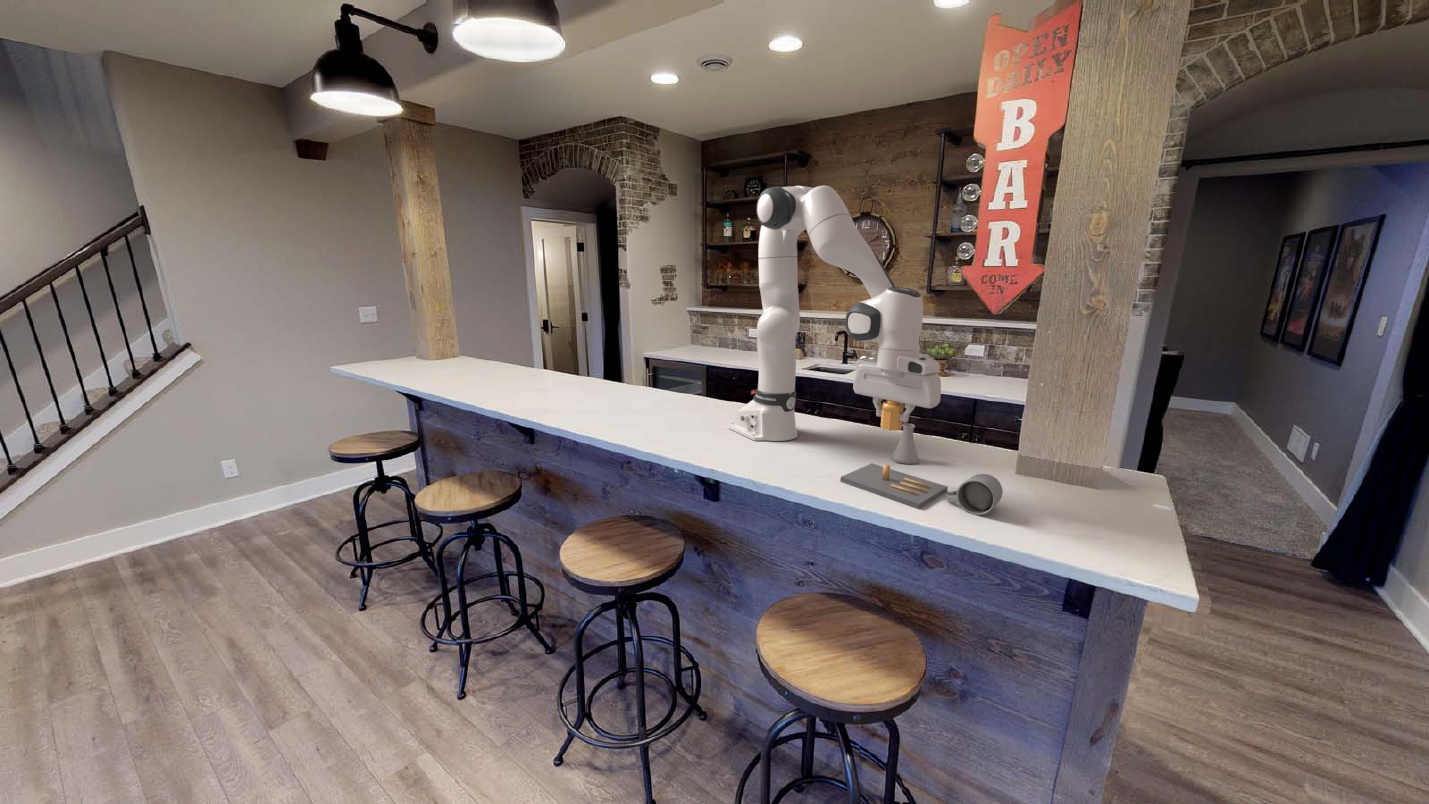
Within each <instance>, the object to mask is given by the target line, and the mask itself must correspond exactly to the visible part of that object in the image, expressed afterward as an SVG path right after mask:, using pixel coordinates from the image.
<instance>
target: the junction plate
mask: <svg viewBox="0 0 1429 804" xmlns="http://www.w3.org/2000/svg"><path fill="white" fill-rule="evenodd" d="M840 483H843V484H846V485H848V486H849V485H850V486H851V487H854V488H858V489H860V490H863V491H867V492H869V493H871V494H875V495H878V496H880V497H883V498H886V499H889V500H892V501H895V502H898V503H900V504H902V505H903V504H904V505H906V506H909V507H912V508H915V509H916V510H918V509H921V508H923V507H924V506H926V505H928V504H929V503H931V502H933V501H934V500H936V499H937V498H939V497H940V496H943V495H944V494H945V493H946V494H947V493H948V488H949V487H948V486H947V485H943V484H942V483H941V484H940V483H937V482H933V481H931V480H927V479H924V478H921V477H917V476H915V475H911V474H908V473H905V472H901V471H899V470H894V469H891V465H890V464H886V463H885V464H883V466H882V465H880V464H879V465H878V464H875V463H873V462H872V463H869V464H866V465H865V466H862V467H860V468H858V469H856V470H854V471H851V472H849V473H847V474H844V475H841V476H840Z"/></svg>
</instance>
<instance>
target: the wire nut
mask: <svg viewBox="0 0 1429 804" xmlns="http://www.w3.org/2000/svg"><path fill="white" fill-rule="evenodd" d="M904 408H905V403H900V402H895V401H890V400H885V401H882V416H881V417H880V427H881V428H882V429H883V430H888V431H899V430H903V422H900V421H899V414H902V413H904Z"/></svg>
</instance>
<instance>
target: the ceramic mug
mask: <svg viewBox="0 0 1429 804" xmlns="http://www.w3.org/2000/svg"><path fill="white" fill-rule="evenodd" d="M1003 493H1004V492H1003V486H1002V484H1001V483H1000V481H999V480H998V478H996V477H994V476H993V475H991V474H987V473H979V474H975V475H973V476H971V477H970V478H968V479H966V480H964V481H963V482H962V483H961V484H960V485H959V486H958V488H957V489H956V490H953V491H950V492H947V493H946V494H945V497H946V501H947V502H948V503H958V505H959V506H960V507H961V509H963V510H964V511H965V512H967V513H968V514H972V515H974V516H983V515H986V514H989V513H990V512H991V511H993V509H994V508H995V507H996V505H997V504H998V503H999V502H1000V500H1001V499H1002V497H1003Z"/></svg>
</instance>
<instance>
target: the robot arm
mask: <svg viewBox="0 0 1429 804" xmlns="http://www.w3.org/2000/svg"><path fill="white" fill-rule="evenodd" d="M755 209H756V210H755V211H756V215H757V216H756V217H757V219H758V221H759V223H760V225H761V226H760V230H759V236H758V237H759V238H758V283H759V284H758V287H759V291H760V297H761V298H760V300H761V305H762V314H761V316H760V317H759V319H758V320H757V321H758V322H757V324H756V334H757V335H756V336H757V340H756V341H757V354H758V355H757V356H758V383H757V387H756V389H752V390H751V393H750V394H751V395H753V394H754V395H753V397H752V398H753V399H752V400H750V401H749V402H748V403H746V404H744V405H743V406H742V407H740V408H739V410H738V411H737V414H736V418H735V419H736V420H735V421H734V422H731V423H729V425H728V429H729V430H731V431H733V432H735V433H737V434H739V435H742V436H744V437H746V438H748V439H751V440H752V441H756V442H757V441H759V442H761V441H771V442H781V441H782V442H784V441H791V440H794V439H796V438H797V437H798V436H799V435H798V431H797V425H796V416H795V415H796V413H795V407H796V401H797V391H796V376H797V375H796V371H797V359H796V358H797V357H796V356H797V355H796V346H797V345H796V342H797V341H796V339H797V338H796V337H797V335H798V333H799V331H800V326H801V317H800V315H801V314H800V299H799V298H800V297H799V288H798V287H799V285H798V284H799V283H798V282H799V281H798V238H799V236H800V234H801V233H803V232H804V234H807V235H808V237H809V241H810V243H811V246H812V248H813V250H814V252H815V253H816V254H817V255H818V257H819V258H820V259H821V260H822V261H823V262H825V263H826V264H828V265H831V266H834V267H837V268H840V269H843V270H846V271H847V272H850V273H851V274H853V275H855V276H856V277H857V278H858V279H859V280H860V281H861V282H862V284H863V285H864V288H865V290H866V291H867V292H868V294H869V296H870V298H869V299H866V300H862V301H858V302H855V303H853V304H852V305H851V306H850V307H849V308H848V310H847V312H846V314H845V320H844V323H845V324H844V325H845V329H846V332H847V334H848V335H849V336H850V338H851V339H853V340H855V341H858V342H861V343H862V342H863V343H867V342H869V343H870V342H877V343H878V348H877V356H876V357H875V356H868V355H863V356H862V357H859V358H858V359H857V360H856V364H855V366H856V367H855V368H856V369H855V374H854V380H853V386H852V389H853V391H854V393H855V394H858V395H862V396H866V397H872V403H873V405H874V408H875V409H876V412H875V415H876V417H879V418H881V416H882V407H883V403H882V402H884V401H883V400H885V401H887V400H890V401H895V402H900V403H903V404H904V409H905V411H903V413H902V414H899V421H900V422H902V423H903V424H906V423H908V422H909V420H910V419H909V418H910V415H911V414H912V412H913V411H914V410H915V408H916V407H921V408H923V409H924V408H926V409H933V408H935V407H937V406H938V405H939V404H940V403H941V392H942V382H941V381H942V380H941V377H940V375H939V374H938V373H937V372H939V371H940V368H941V367H940V366H941V365H940V363H939V362H938V361H936V360H934V359H933V358H930V357H928V356H926V355H924V354H922V353H920V341H919V340H920V339H919V338H920V335H921V331H922V327H923V317H924V304H923V303H924V301H923V297H922V295H921V293H920V292H918V290H915V289H913V288H910V287H909V288H908V287H902V286H895V285H896V284H895V283H894V282H893V280H892V279H891V277H890V275H889V273H888V271H887V270H886V268H885V266H884V265H883V263H882V261H881V260H880V258H879V256H878V255H877V254H876V252H875V251H874V249H873V248H872V247H871V246H870V245H869V244H868V243H867V241H866V240H865V238H864V237H863V236H862V235H861V233H860V231H859V230H858V228H857V226H856V225H855V221H854V220H853V218H852V216H851V214H850V212H849V209H848V208H847V206H846V204H845V203H844V201H843V199H842V198H841V196H840V195H839V193H838V192H837V191H836V190H835V189H834V188H833V187H832V186H830V185H819V186H816V187H811V186H805V185H795V186H772V187H769V188H765V189H764V190H763V191H762V192H761V193H760V195H759V197H758V199H757V202H756V208H755Z"/></svg>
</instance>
